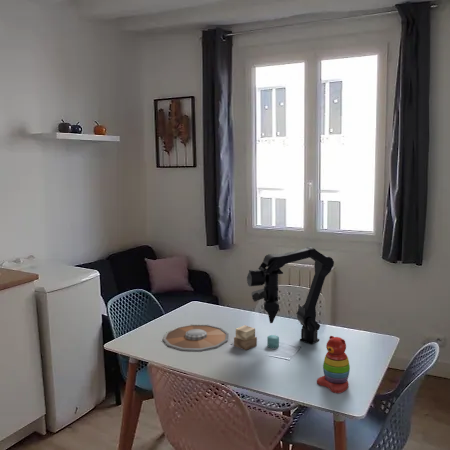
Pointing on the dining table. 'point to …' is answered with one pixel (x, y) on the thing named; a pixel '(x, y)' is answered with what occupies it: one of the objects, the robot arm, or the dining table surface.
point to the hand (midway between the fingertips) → (271, 319)
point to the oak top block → (245, 333)
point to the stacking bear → (335, 366)
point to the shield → (196, 337)
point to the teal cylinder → (273, 341)
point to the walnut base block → (245, 343)
